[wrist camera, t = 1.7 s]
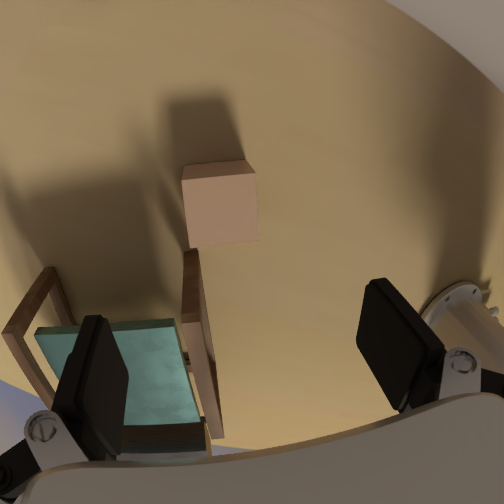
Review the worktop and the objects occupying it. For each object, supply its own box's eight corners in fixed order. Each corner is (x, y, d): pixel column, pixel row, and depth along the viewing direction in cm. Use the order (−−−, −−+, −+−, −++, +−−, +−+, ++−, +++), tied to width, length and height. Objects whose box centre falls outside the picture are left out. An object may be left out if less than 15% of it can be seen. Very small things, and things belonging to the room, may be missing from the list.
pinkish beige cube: (246, 159, 26) (256, 173, 21) (249, 216, 28) (259, 240, 24) (184, 165, 25) (181, 180, 21) (191, 222, 28) (190, 248, 23)
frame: (198, 250, 29) (200, 321, 20) (215, 364, 35) (224, 438, 26) (44, 268, 27) (1, 333, 18) (89, 372, 33) (73, 440, 25)
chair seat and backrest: (175, 304, 24) (172, 343, 20) (210, 438, 33) (213, 469, 29) (44, 314, 23) (26, 349, 19) (117, 441, 32) (114, 471, 28)
